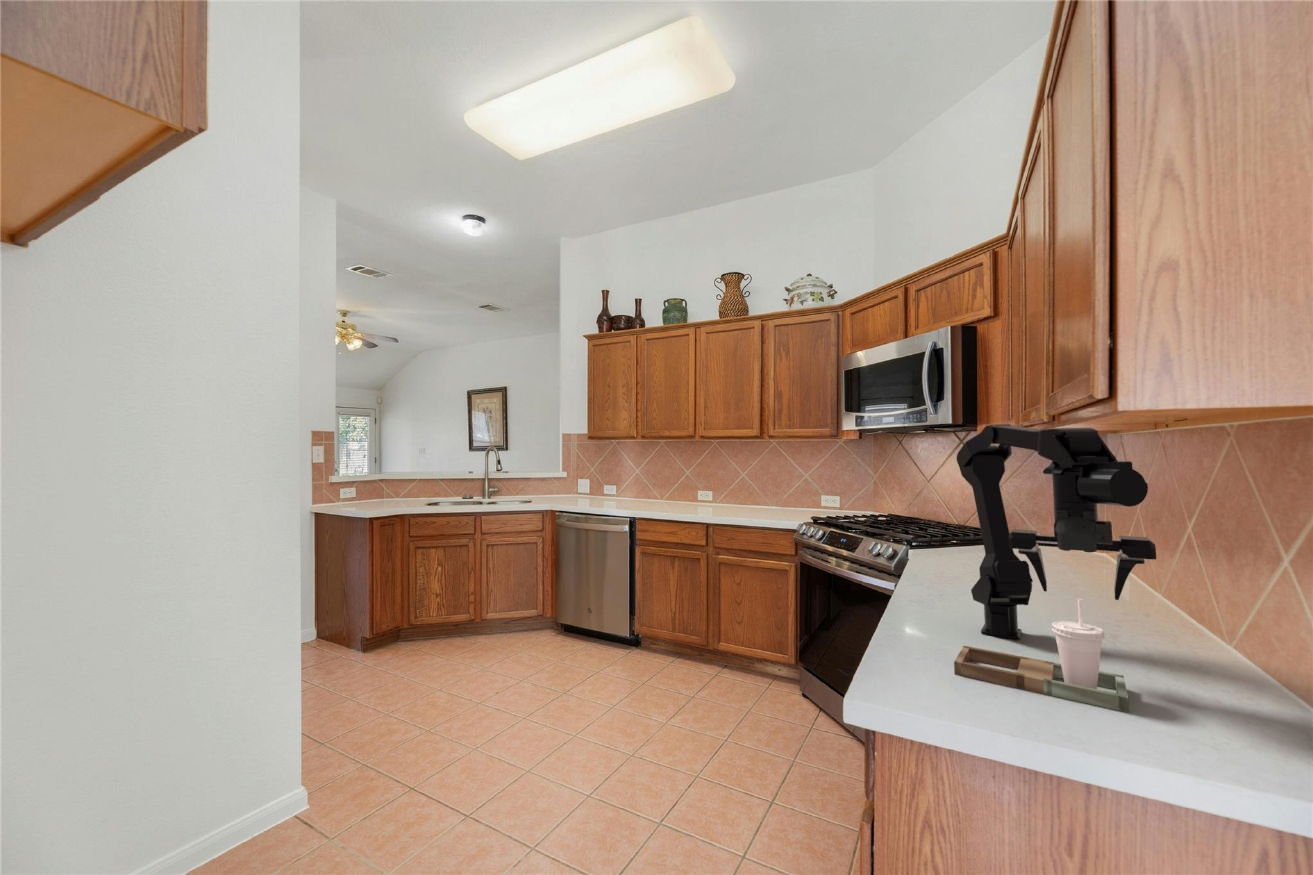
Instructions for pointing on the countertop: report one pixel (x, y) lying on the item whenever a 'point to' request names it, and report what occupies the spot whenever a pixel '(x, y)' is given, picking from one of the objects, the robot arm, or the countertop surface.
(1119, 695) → the caddy
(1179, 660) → the countertop surface
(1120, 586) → the robot arm
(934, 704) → the countertop surface
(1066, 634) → the smoothie
